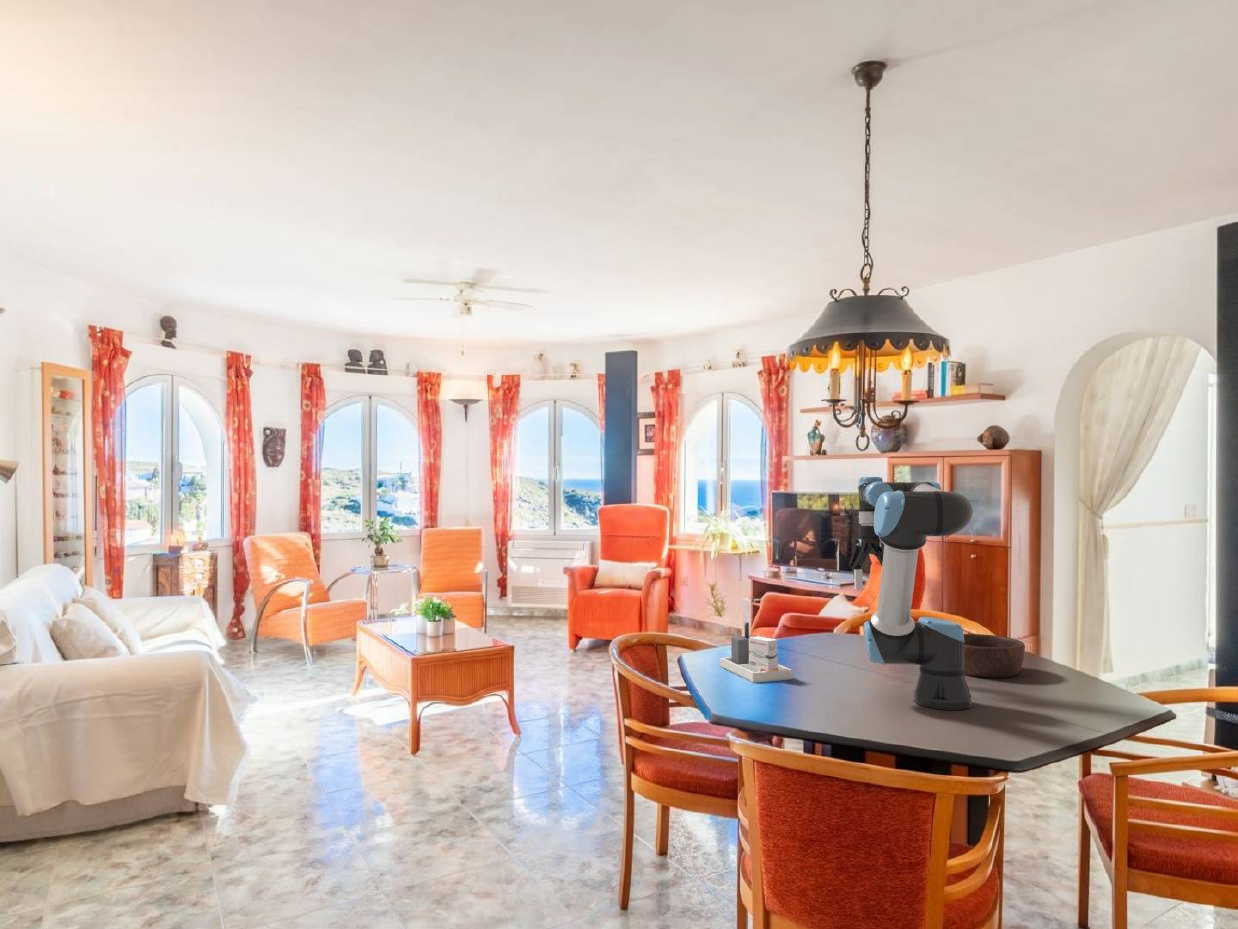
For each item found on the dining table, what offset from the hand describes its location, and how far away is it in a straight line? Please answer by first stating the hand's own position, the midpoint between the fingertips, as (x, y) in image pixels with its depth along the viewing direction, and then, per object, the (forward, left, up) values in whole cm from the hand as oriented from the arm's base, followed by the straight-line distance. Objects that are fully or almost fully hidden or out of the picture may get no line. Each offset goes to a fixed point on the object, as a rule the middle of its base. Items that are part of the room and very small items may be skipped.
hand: (872, 591), depth 245 cm
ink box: (+13, +32, -27) cm, 44 cm away
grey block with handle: (+24, +32, -27) cm, 49 cm away
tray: (+19, +32, -27) cm, 46 cm away
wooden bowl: (-4, -40, -28) cm, 49 cm away
